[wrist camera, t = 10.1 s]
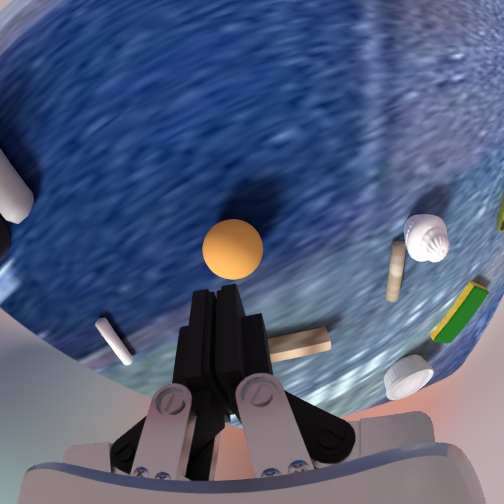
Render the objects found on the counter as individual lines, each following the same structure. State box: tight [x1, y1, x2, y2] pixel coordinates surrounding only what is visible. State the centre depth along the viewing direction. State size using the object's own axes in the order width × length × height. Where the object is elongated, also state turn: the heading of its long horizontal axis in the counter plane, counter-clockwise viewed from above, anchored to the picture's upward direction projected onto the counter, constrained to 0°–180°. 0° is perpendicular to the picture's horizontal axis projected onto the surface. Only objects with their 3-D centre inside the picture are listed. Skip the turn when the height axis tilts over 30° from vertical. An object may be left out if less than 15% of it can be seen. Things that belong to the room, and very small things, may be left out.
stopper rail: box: [268, 326, 331, 362], centre depth 39 cm, size 18×2×3 cm, turn 101°
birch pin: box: [385, 240, 406, 302], centre depth 34 cm, size 2×2×9 cm
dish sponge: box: [430, 281, 489, 343], centre depth 42 cm, size 7×14×2 cm, turn 160°
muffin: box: [404, 214, 449, 262], centre depth 29 cm, size 6×6×7 cm
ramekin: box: [384, 354, 434, 400], centre depth 48 cm, size 11×11×5 cm
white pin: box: [95, 317, 134, 365], centre depth 37 cm, size 2×2×9 cm
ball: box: [203, 219, 263, 279], centre depth 28 cm, size 6×6×6 cm
